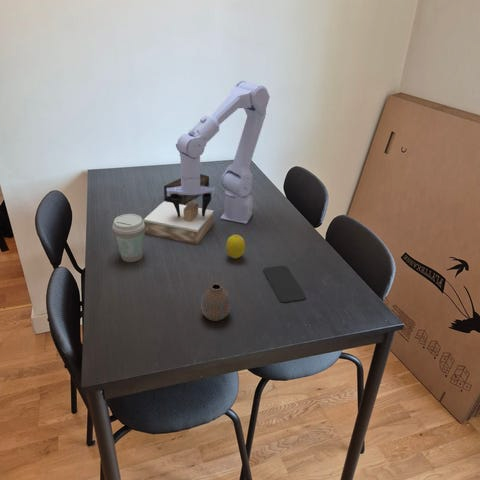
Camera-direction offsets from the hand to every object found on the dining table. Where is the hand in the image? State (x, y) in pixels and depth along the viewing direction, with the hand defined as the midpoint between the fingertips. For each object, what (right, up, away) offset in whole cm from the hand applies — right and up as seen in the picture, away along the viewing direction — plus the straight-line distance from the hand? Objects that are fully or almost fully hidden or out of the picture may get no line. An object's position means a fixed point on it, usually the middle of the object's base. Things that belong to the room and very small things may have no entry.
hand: (191, 215), depth 123 cm
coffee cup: (-16, -13, -11) cm, 23 cm away
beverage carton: (-5, +9, +27) cm, 29 cm away
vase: (+10, -26, -31) cm, 41 cm away
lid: (-4, 0, +2) cm, 4 cm away
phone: (+27, -20, -18) cm, 38 cm away
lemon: (+14, -13, -9) cm, 21 cm away
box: (-4, -4, +4) cm, 7 cm away
